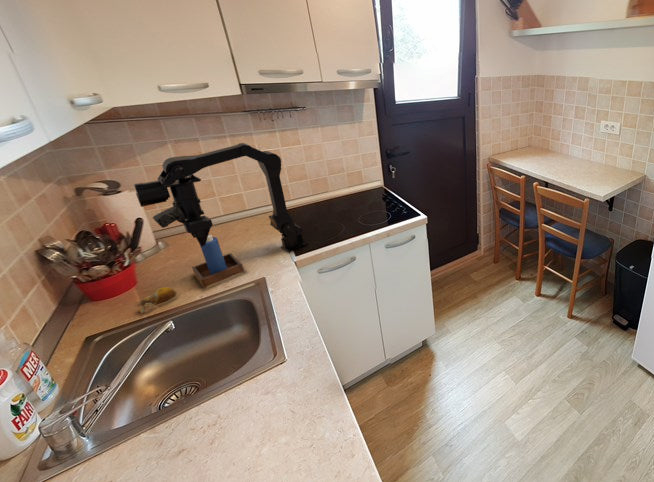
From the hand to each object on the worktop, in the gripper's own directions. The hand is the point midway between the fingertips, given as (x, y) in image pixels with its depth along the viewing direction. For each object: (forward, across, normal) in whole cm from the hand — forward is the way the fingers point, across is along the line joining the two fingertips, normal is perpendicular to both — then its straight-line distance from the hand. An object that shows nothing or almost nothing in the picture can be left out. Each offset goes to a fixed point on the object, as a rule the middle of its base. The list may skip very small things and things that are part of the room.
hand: (199, 241), depth 109 cm
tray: (+15, -1, +3) cm, 15 cm away
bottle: (+14, -1, +3) cm, 14 cm away
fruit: (+16, 0, -14) cm, 21 cm away
